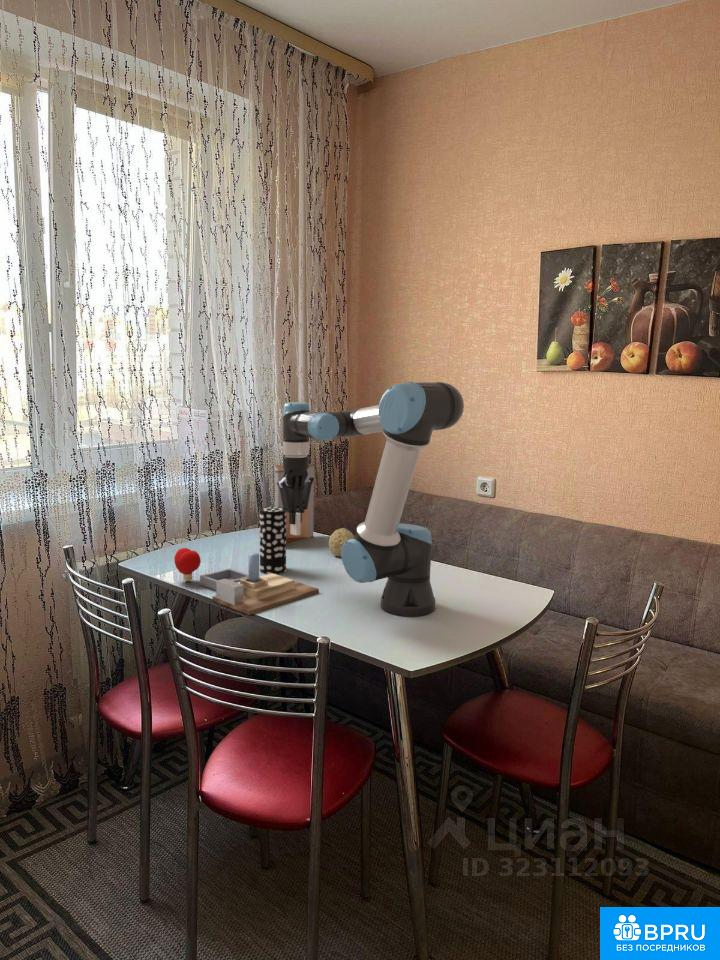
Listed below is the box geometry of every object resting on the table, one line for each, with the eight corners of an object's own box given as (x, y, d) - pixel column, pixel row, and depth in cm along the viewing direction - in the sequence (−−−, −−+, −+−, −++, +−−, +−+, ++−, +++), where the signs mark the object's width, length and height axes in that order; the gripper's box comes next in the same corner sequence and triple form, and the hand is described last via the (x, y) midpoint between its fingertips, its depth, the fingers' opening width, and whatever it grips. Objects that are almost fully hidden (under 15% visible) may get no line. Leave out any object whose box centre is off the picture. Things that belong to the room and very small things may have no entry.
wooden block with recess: (294, 588, 212) (294, 575, 211) (257, 600, 201) (257, 586, 201) (271, 581, 218) (271, 568, 218) (234, 591, 208) (234, 578, 207)
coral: (362, 533, 255) (353, 527, 246) (355, 561, 253) (345, 557, 244) (337, 528, 258) (327, 522, 249) (330, 556, 256) (320, 551, 247)
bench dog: (243, 602, 199) (243, 585, 198) (234, 605, 197) (234, 587, 196) (225, 595, 204) (225, 578, 204) (216, 598, 202) (216, 580, 201)
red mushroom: (206, 582, 219) (206, 550, 218) (186, 587, 214) (186, 555, 213) (189, 576, 226) (188, 544, 224) (169, 580, 221) (168, 548, 219)
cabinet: (278, 548, 259) (278, 471, 254) (257, 544, 264) (257, 468, 259) (313, 537, 276) (314, 464, 271) (293, 533, 281) (293, 461, 276)
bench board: (318, 592, 212) (318, 588, 212) (248, 615, 193) (248, 610, 193) (282, 580, 223) (282, 576, 223) (212, 600, 204) (212, 596, 204)
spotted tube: (281, 575, 228) (281, 512, 225) (256, 573, 230) (255, 511, 226) (289, 567, 236) (289, 507, 233) (264, 565, 238) (264, 505, 234)
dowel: (261, 584, 207) (261, 554, 205) (253, 587, 204) (252, 556, 203) (254, 582, 209) (254, 552, 207) (246, 584, 206) (246, 554, 205)
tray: (252, 585, 217) (252, 575, 217) (222, 594, 209) (222, 584, 209) (229, 577, 225) (229, 568, 224) (200, 585, 217) (199, 575, 216)
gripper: (303, 452, 219) (302, 528, 223) (270, 456, 210) (270, 535, 214) (320, 455, 214) (319, 532, 219) (287, 459, 205) (287, 540, 209)
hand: (295, 534), depth 216 cm, fingers closed
